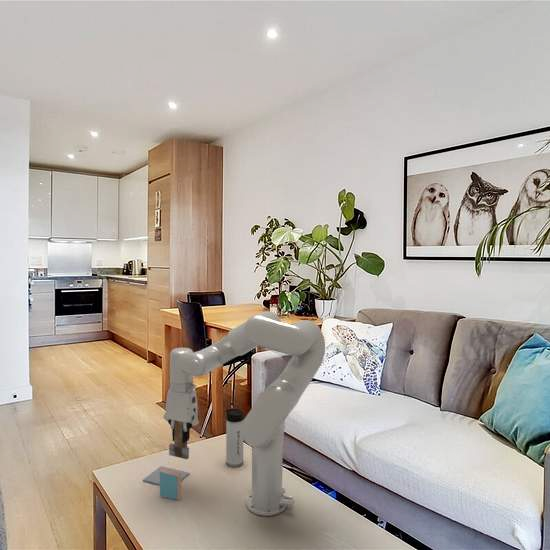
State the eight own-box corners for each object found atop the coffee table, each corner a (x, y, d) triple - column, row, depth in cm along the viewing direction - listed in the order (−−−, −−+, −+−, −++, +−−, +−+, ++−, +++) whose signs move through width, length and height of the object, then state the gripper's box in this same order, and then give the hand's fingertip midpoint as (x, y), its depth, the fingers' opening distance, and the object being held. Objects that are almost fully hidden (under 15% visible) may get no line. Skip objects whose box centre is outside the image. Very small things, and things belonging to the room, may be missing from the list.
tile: (181, 497, 135) (181, 473, 135) (177, 500, 134) (177, 476, 133) (162, 493, 138) (162, 469, 138) (159, 496, 136) (159, 471, 136)
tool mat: (189, 474, 150) (189, 472, 150) (172, 488, 140) (172, 487, 140) (161, 467, 154) (161, 466, 154) (142, 481, 145) (142, 479, 145)
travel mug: (227, 458, 161) (227, 406, 160) (244, 459, 160) (245, 407, 159) (223, 466, 155) (223, 412, 154) (241, 468, 154) (241, 414, 153)
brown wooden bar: (192, 455, 142) (192, 414, 141) (187, 459, 139) (187, 417, 138) (174, 451, 144) (174, 410, 143) (169, 455, 141) (169, 413, 141)
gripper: (208, 386, 141) (208, 440, 142) (167, 379, 147) (167, 431, 148) (196, 393, 134) (195, 450, 135) (153, 385, 140) (153, 440, 141)
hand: (180, 440), depth 141 cm, fingers closed on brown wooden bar, 3 cm apart
